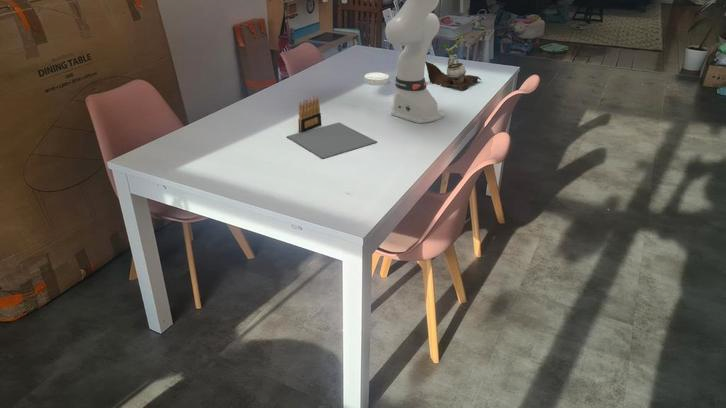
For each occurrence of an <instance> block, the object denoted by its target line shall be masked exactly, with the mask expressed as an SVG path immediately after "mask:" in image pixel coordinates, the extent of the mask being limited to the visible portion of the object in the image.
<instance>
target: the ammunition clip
mask: <svg viewBox="0 0 726 408" xmlns="http://www.w3.org/2000/svg"><path fill="white" fill-rule="evenodd" d="M319 100H320V99H319V96H318V95H316V97H315V96H313V97H309V99H308V98H306V101H305V100H304V99H303V101H301V100H300V101H299V106H298V133H301V132H305V131H308V130H312V129H316V128H319V127H321V126H322V116H321V115H322V113H321V112H320V111H321V108H320V107H321V106H320V101H319Z"/></svg>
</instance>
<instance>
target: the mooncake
mask: <svg viewBox="0 0 726 408" xmlns="http://www.w3.org/2000/svg"><path fill="white" fill-rule="evenodd" d="M389 81H390V77H389V75H388V74H387V73H384V72H378V71H377V72H368V73H366V74H365V75H364V81H363V82H364V84H366V85H371V86H385V85H388V83H389Z"/></svg>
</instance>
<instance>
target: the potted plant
mask: <svg viewBox="0 0 726 408" xmlns="http://www.w3.org/2000/svg"><path fill="white" fill-rule="evenodd" d="M464 38H465V36H463V35H461V36H458V37H456V38H455V40H456V42H455V44H454V46H452V47H450V45H448V43H444V45H443V46H442V48H443V49H444V50H445V52H447V53H446V54H445V56H449V57H448V59H447V67H446V73H444V72H443V71H441V69H440V68H439V67H438V66H437V65H435V64H434V63H431V62H429V61H426V60H425V66H426V71H427V75H428V79H429V83H431V84H432V85H436V86H440V87H456V88H459V89H461V90H462V91H464V90H466V91H467V90H468V87H469V86H470V85H471V83H478V80H480V81H482V79H481V78H480V77H479V76H477V75H471V74H466V73H467V70H466V67H465V64H464V63H462V62H459V60H458V58H459V57H458V56H457V54H454V50H455V51H456V50H457V49H458V48H459V46H458V44H459V43H461V42H464V40H465V39H464ZM455 60H456V63H455Z"/></svg>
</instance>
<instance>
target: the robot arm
mask: <svg viewBox="0 0 726 408" xmlns="http://www.w3.org/2000/svg"><path fill="white" fill-rule="evenodd" d="M328 1H329V0H322V2H323V3H327V2H328ZM439 2H440V0H405V1H404V3H403V5H402V6H401V8H400V9H399V11H398V12H397V13H396V15H395V16H393V17H392V18H391V19H390V20H388V22H387V23H386V26H385V29H384V32H385V37H386V39H387V42H388V43H390V44H391V45H392V46H399V47H400V46H402V47H403V46H404V48H403V50H402V51H401V53H400V54H399V55H398V57H397V63H396V65H397V66H396V67H397V68H396V76H395V80H394V82H395V85H394V86H395V92H394V96H393V100H392V101H393V103H392V107H391V111H390V115H391V116H393V117H397V118H399V119H404V120H407V121H410V122H414V123H417V124H424V123H425V124H426V123H431V122H435V121H437V120H440V119H442V118H443V115H444V114H443V113H441V112H440V111H439V110H438V102H437V100H436V99H435V97H434V96H433V95H432V94H431V93H430V91H429V90H428V89H427V86H428V85H429V81H427V82H426V78H425V66H426V63H425V61H426V59H427V55H428V52H429V49H430V46H431V44H432V42H433V40H434V38H435V37H436V36H437V35H438V33H439V30H440V27H441V26H440V25H441V24H440V20H439V18H438V16H437V15H436V14H435V13H432V12H433V11H434V10H435V9H436V8H437V6H438V5H439ZM341 3H342V4H346V3H348V0H341Z"/></svg>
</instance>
